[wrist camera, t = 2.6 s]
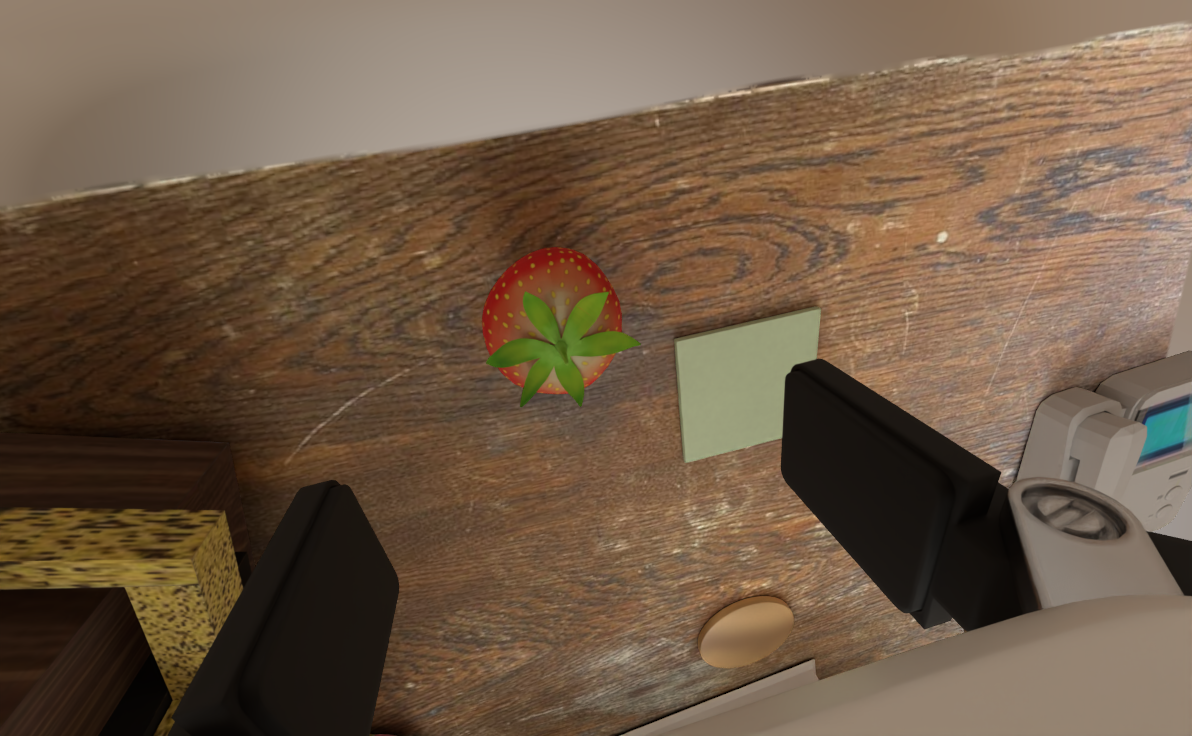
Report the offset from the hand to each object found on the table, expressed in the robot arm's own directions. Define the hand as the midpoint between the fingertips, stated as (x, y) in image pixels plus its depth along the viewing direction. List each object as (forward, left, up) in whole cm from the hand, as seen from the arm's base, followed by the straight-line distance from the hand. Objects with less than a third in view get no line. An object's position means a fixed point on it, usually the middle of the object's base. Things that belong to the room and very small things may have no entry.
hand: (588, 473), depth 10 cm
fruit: (0, 0, -13) cm, 13 cm away
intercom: (+39, +40, -10) cm, 57 cm away
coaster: (+31, +10, -13) cm, 35 cm away
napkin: (+8, +10, -13) cm, 18 cm away
